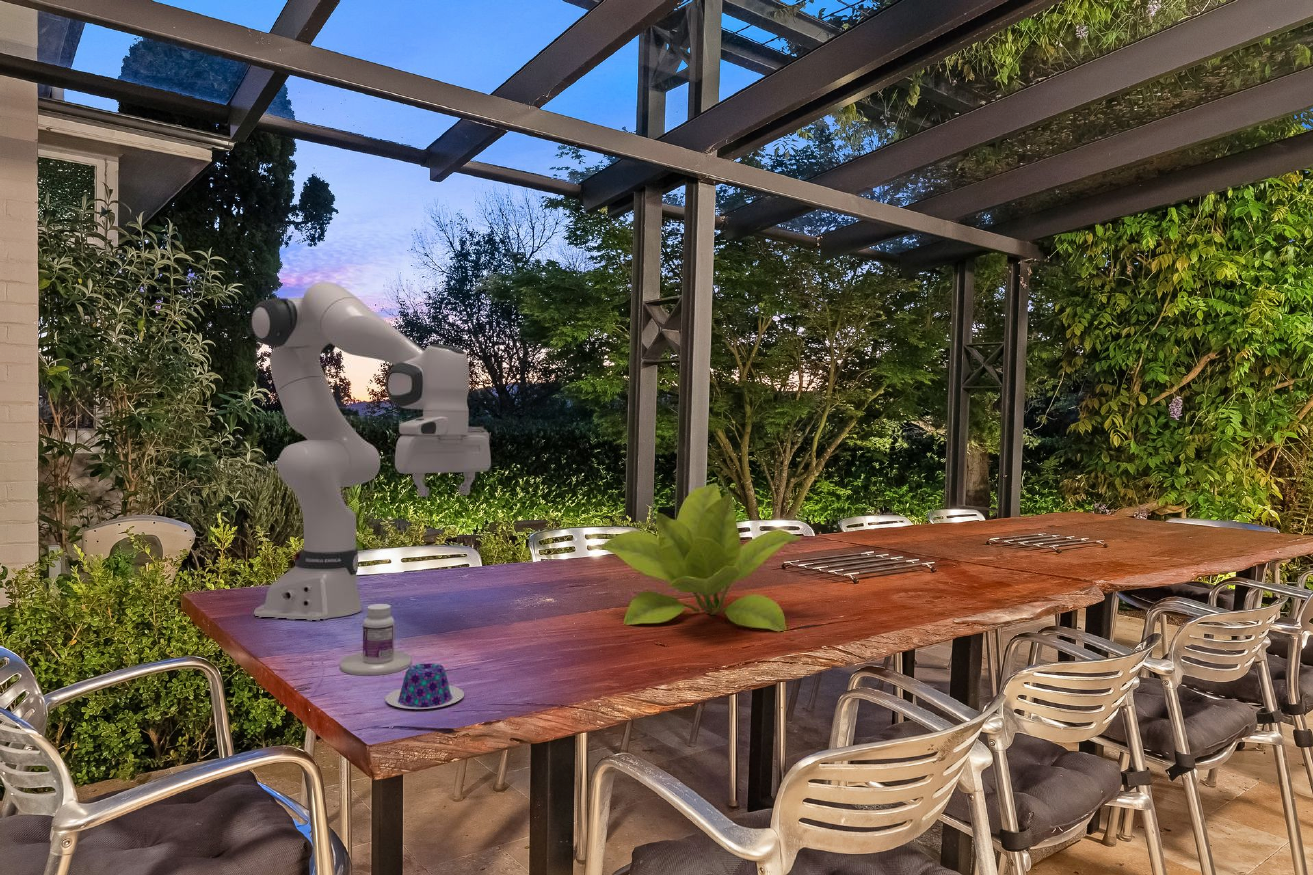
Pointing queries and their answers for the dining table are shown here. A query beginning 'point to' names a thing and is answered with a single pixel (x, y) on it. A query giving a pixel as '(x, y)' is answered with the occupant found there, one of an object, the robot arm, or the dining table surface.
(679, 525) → the artificial plant
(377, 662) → the pill bottle
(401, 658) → the coaster
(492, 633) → the dining table surface
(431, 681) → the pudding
